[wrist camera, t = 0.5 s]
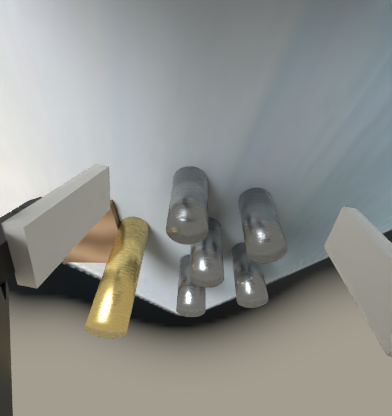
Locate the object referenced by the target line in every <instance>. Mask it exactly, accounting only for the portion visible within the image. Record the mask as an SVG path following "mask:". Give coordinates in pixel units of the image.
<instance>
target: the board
mask: <svg viewBox="0 0 392 416" xmlns="http://www.w3.org/2000/svg"><path fill="white" fill-rule="evenodd" d="M119 226H120V224H119V220H118V217H117V214H116V210H115V207H114V204H113V201H112V200H110V210H109V211H108V212H107V213H106V214H105V215H104V216H103V217H102V218H101V219H100V220H99V222H98V223H97V224H96V225H95V226H94V227H93V228H92V229H91V230H90V231H89V232H88V233H87V235H86V236H85V237H84V238H83V239H82V240H81V241H80V242H79V243H78V244H77V245H76V247H75V248H74V249H73V250H72V251H71V252H70V253H69V254H68V255H67V256H66V257H65V259H64V261H65V262H95V263H107V261H108V258H109V255H110V253H111V250H112V247H113V244H114V241H115V238H116V235H117V232H118V229H119Z"/></svg>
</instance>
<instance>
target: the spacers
mask: <svg viewBox="0 0 392 416" xmlns="http://www.w3.org/2000/svg"><path fill="white" fill-rule="evenodd" d="M238 203H239V209H240V215H241V221H242V227H243V233H244V239H245V242H243V243H239V244H237V245H235V246H234V247H233V248H232V261H233V270H234V279H235V288H236V297H237V303H238V304H239V305H241V306H243V307H248V308H255V307H260V306H262V305H264V304H266V303H267V302H268V294H267V290H266V285H265V280H264V275H263V270H262V266H261V263H270V262H274V261H277V260H279V259H280V258H282V257H283V256H284V255H285V254H286V252H287V246H286V243H285V240H284V237H283V233H282V230H281V227H280V224H279V221H278V218H277V215H276V212H275V209H274V206H273V203H272V200H271V196H270V194H269V193H268V192H267V191H266V190H264V189H261V188H252V189H249V190H247V191H245V192H244V193H243V194H242V195H241V196H240V197H239V201H238ZM166 232H167V234H168V236H169V237H170V238H171V239H172V240H174V241H175V242H178V243H181V244H191V254H190V255H186V256H184V257H182V258H181V260H180V271H179V283H178V296H177V308H176V310H177V312H178V313H179V314H180V315H183V316H186V317H197V316H201V315H203V314H204V313H205V310H206V307H205V287H214V286H217V285H219V284H221V283H222V282H223V280H224V269H223V256H222V243H221V229H220V224H219V223H218V222H217V221H216V220H215V219H212V218H208V192H207V177H206V175H205V173H204V172H203V171H202V170H200V169H199V168H196V167H184V168H181V169H179V170H178V171H177V172H176V173H175V175H174V179H173V185H172V192H171V199H170V206H169V212H168V219H167V226H166Z"/></svg>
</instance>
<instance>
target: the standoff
mask: <svg viewBox="0 0 392 416" xmlns="http://www.w3.org/2000/svg"><path fill="white" fill-rule="evenodd" d="M148 232H149V226H148V224H147V223H146V222H145V221H144V220H142V219H140V218H137V217H128V218H125V219H123V220H122V221H121V224H120V226H119V229H118V232H117V235H116V238H115V241H114V244H113V247H112V250H111V253H110V255H109V258H108V261H107V264H106V267H105V270H104V273H103V276H102V279H101V282H100V285H99V287H98V290H97V293H96V297H95V299H94V302H93V305H92V308H91V311H90V314H89V316H88V319H87V322H86V325H85V329H86V331H87V332H89V333H91V334H92V335H95V336H98V337H103V338H119V337H123V336H124V335H126V333H127V328H128V324H129V319H130V314H131V310H132V305H133V301H134V296H135V292H136V287H137V282H138V278H139V273H140V269H141V264H142V260H143V255H144V250H145V246H146V241H147V237H148Z"/></svg>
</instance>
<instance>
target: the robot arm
mask: <svg viewBox="0 0 392 416" xmlns="http://www.w3.org/2000/svg"><path fill="white" fill-rule="evenodd" d="M109 210H110V183H109V166H105V165H99V164H95V165H93V166H92V167H90V168H89V169H87V170H85V171H84V172H82V173H81V174H79V175H77V176H76V177H74V178H73V179H71V180H69V181H68V182H66V183H65V184H63V185H62V186H60V187H58V188H57V189H55V190H54V191H52V192H50V193H49V194H47V195H46V196H44V197H39V198H36V199H33V200H29V201H27V202H26V203H24V204H22V205H21V206H19V208H16V209H14V210H12V212H9V213H7V214H6V215H4V216H2V217H1V218H0V416H13V413H12V412H13V411H12V380H11V350H10V321H9V290H8V284H7V279H8V278H9V277H10V276H12V275H13V274H14V273H15V276H16V280H17V284H18V285H23V286H28V287H33V288H38V287H39V286H40V285H41V284H42V282H43V281H44V280H45V279H46V278H47V277H48V276H49V275H50V274H51V273H52V272H53V270H54V269H55V268H56V267H57V266H58V265H59V264H60V263H61V262H62V261H63V260H64V259H65V257H66V256H67V255H68V254H69V253H70V252H71V251H72V250H73V249H74V248H75V247H76V245H77V244H78V243H79V242H80V241H81V240H82V239H83V238H84V237H85V236H86V235H87V233H88V232H89V231H90V230H91V229H92V228H93V227H94V226H95V225H96V224H97V223H98V222H99V220H100V219H101V218H102V217H103V216H104V215H105V214H106V213H107V212H108V211H109ZM324 248H325V250H326V252H327V254H328V255H329V257H330V259H331V260H332V262H333V264H334V266H335V267H336V269H337V270H338V272H339V274H340V276H341V277H342V279H343V281H344V283H345V285H346V286H347V288H348V290H349V291H350V293H351V295H352V296H353V298H354V300H355V302H356V303H357V305H358V307H359V308H360V310H361V312H362V314H363V316H364V317H365V319H366V321H367V322H368V324H369V326H370V328H371V329H372V331H373V333H374V334H375V336H376V338H377V340H378V341H379V343H380V345H381V346H382V348H383V350H384V352H385V353H386V355H387V356H391V357H392V243H391V242H390V241H389V240H388V239H387V238H386V237H385V236H384V235H383V234H382V233H381V232H380V231H379V230H378V229H377V228H376V227H375V226H374V225H373V224H372V223H371V222H370V221H369V220H368V219H367V218H366V217H365V216H364V215H363V214H361V213H360V212H359V211H358V210H357V209H355V208H349V207H342V209H341V211H340V213H339V215H338V217H337V220H336V222H335V224H334V226H333V228H332V230H331V232H330V234H329V237H328V239H327V241H326V243H325V245H324Z"/></svg>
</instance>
